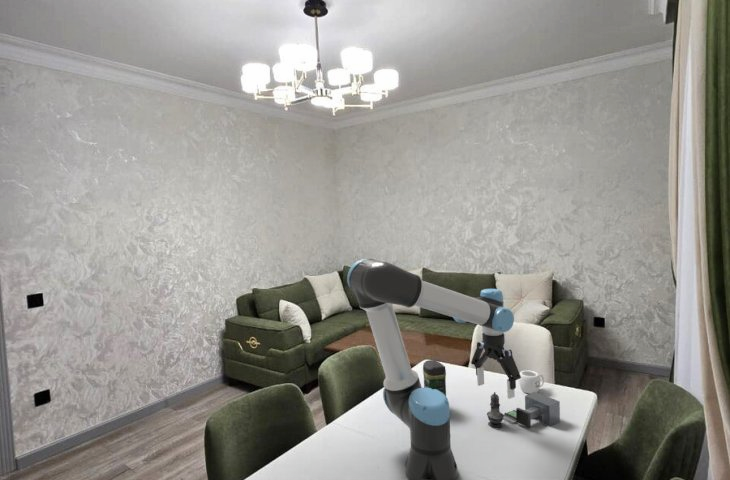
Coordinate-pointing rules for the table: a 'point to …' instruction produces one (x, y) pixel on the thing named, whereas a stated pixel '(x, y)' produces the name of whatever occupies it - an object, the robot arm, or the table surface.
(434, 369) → the coffee jar
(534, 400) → the gauge
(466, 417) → the table surface
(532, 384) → the mug
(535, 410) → the plunger
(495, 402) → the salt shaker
